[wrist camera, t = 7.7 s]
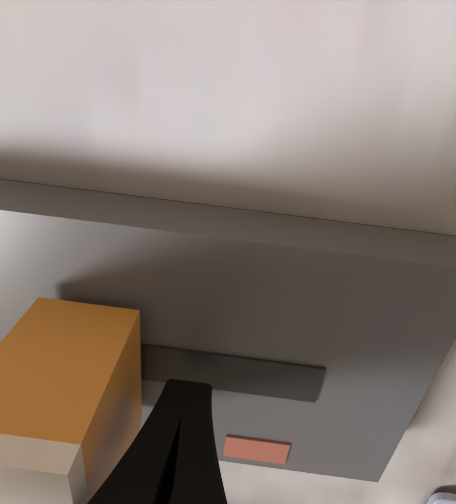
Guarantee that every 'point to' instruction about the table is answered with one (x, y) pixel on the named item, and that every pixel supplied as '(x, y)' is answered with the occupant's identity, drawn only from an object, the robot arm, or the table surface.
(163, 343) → the panel
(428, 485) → the table surface
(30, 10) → the table surface
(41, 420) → the knob
